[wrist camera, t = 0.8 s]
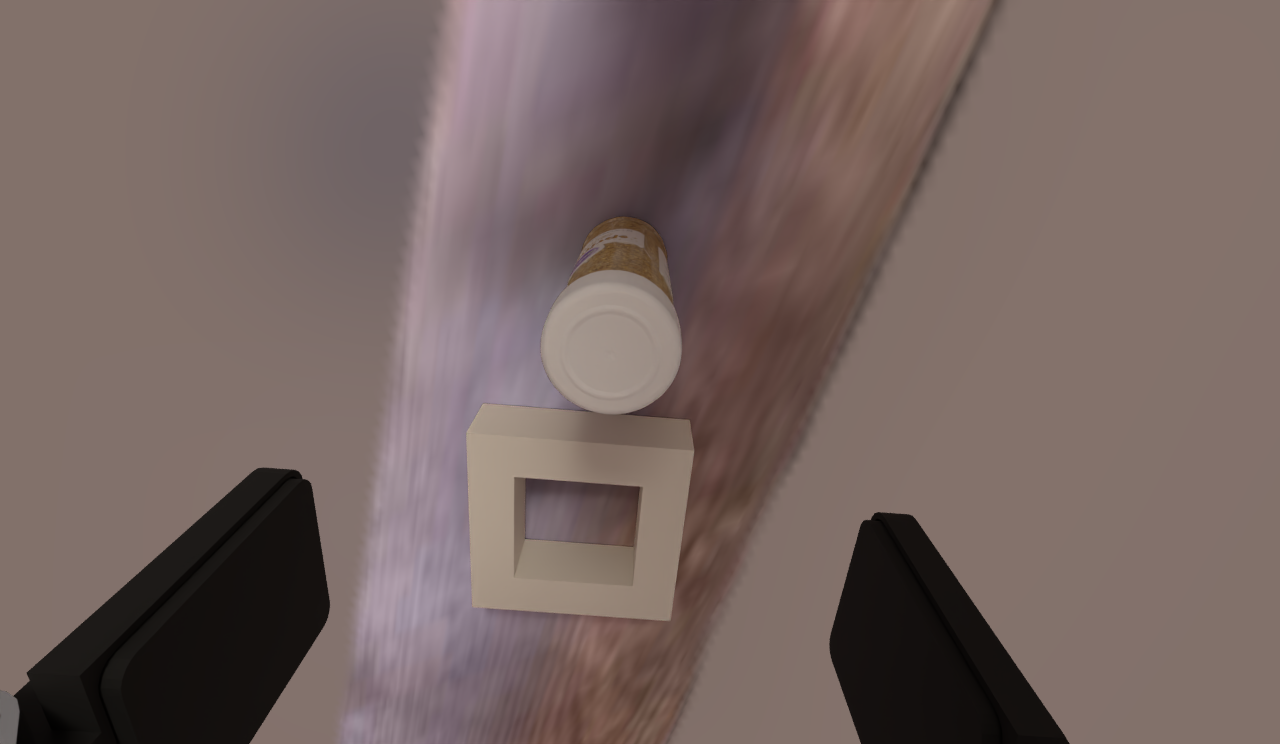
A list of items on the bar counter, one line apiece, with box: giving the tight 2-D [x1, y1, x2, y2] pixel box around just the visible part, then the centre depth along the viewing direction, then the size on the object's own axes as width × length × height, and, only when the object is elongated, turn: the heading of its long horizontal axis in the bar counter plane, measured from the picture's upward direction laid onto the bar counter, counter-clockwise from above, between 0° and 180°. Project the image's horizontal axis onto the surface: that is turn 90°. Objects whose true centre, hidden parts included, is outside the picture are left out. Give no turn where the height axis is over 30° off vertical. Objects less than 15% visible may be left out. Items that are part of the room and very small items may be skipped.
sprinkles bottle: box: [541, 217, 682, 415], centre depth 25 cm, size 5×5×13 cm
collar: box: [466, 403, 694, 621], centre depth 35 cm, size 12×12×4 cm
